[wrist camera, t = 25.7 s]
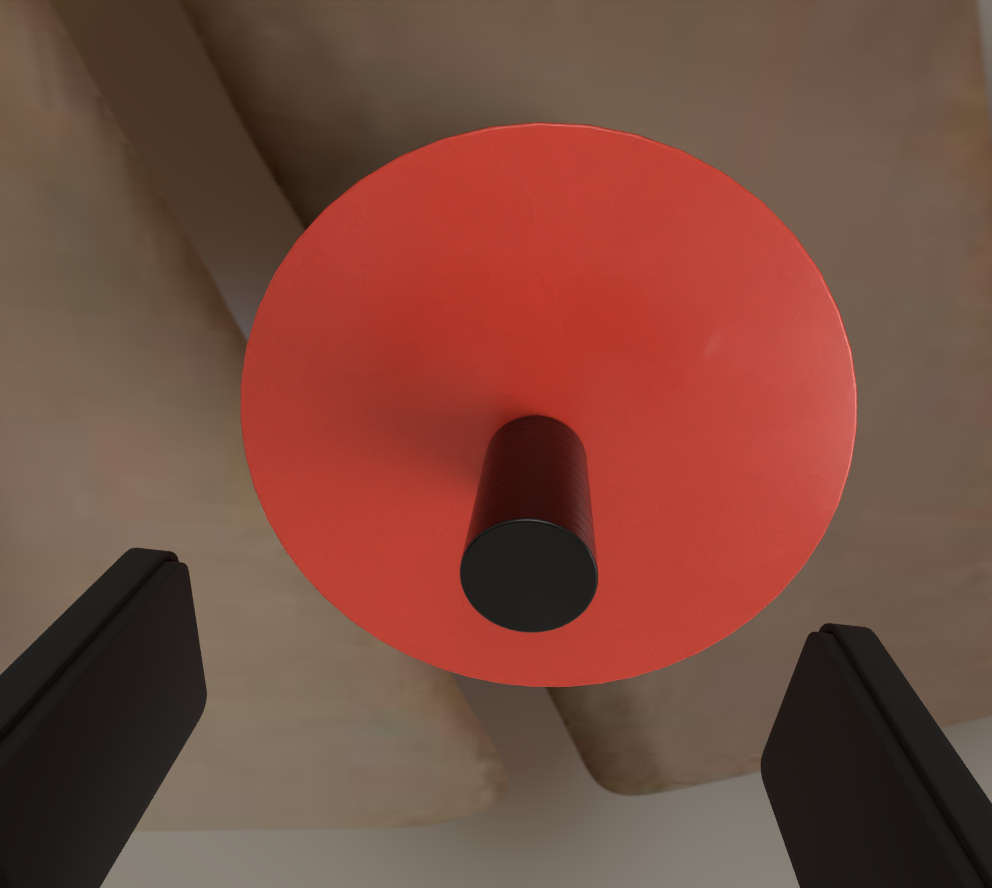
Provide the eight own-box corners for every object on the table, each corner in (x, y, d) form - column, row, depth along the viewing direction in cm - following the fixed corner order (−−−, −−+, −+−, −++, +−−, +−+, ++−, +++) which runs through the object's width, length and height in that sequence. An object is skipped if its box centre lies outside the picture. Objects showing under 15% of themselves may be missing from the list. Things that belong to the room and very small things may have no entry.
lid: (142, 338, 17) (-58, 429, 12) (683, -39, 13) (784, -186, 7) (452, 718, 22) (417, 911, 17) (917, 541, 18) (1086, 722, 12)
